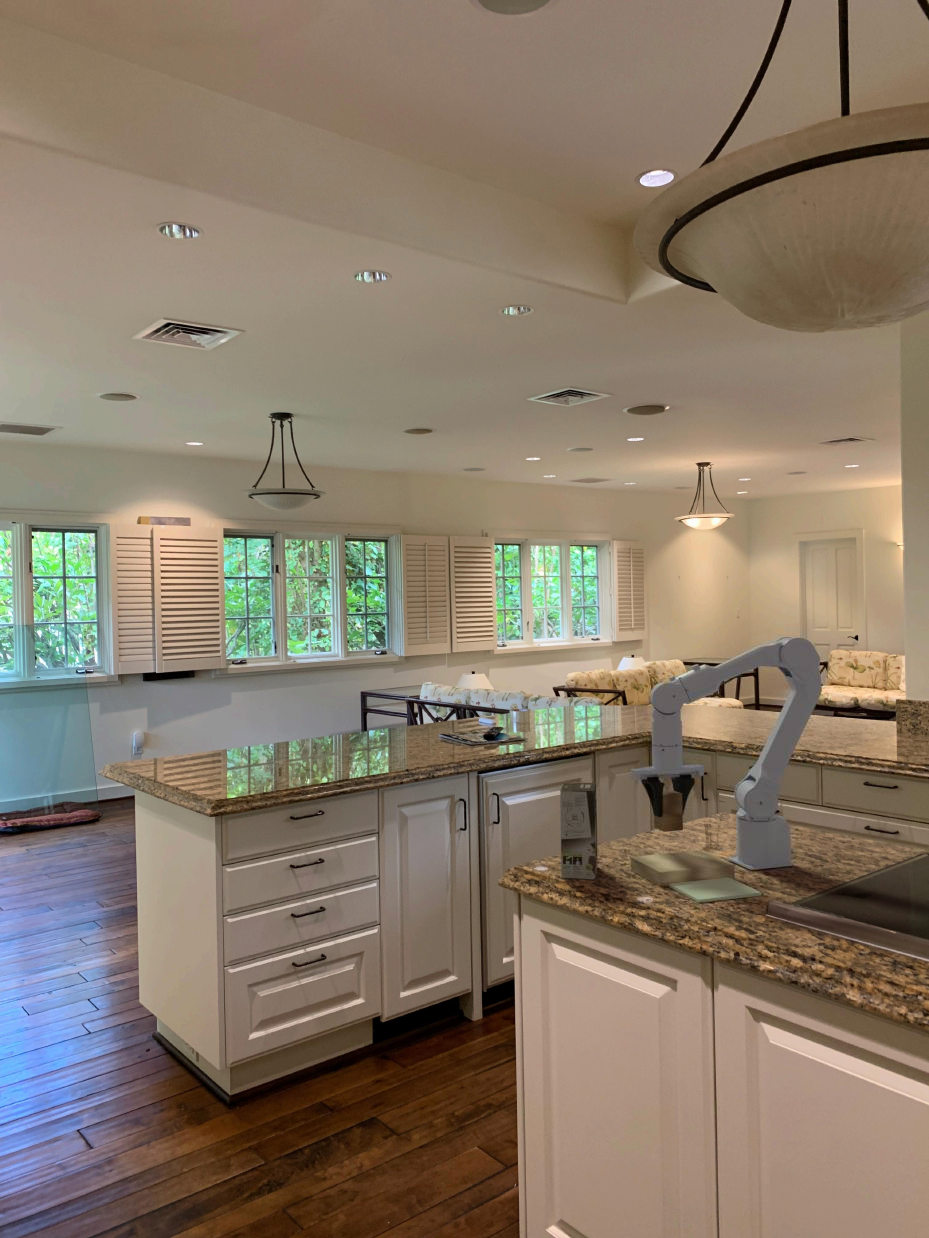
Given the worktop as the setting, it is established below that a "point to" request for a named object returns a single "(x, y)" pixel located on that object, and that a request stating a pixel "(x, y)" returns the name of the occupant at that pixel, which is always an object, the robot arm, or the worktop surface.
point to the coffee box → (578, 831)
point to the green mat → (714, 889)
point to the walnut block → (670, 812)
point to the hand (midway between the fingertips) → (668, 815)
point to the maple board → (681, 867)
